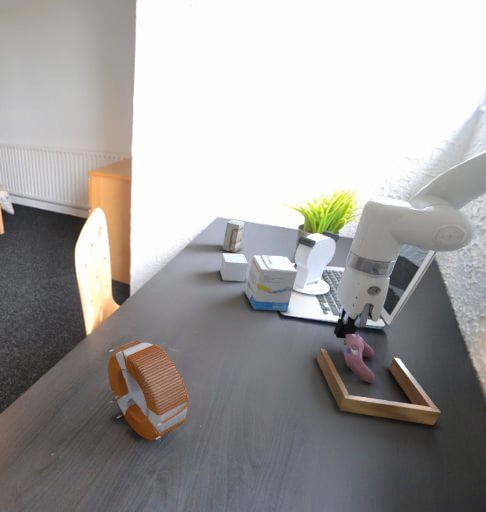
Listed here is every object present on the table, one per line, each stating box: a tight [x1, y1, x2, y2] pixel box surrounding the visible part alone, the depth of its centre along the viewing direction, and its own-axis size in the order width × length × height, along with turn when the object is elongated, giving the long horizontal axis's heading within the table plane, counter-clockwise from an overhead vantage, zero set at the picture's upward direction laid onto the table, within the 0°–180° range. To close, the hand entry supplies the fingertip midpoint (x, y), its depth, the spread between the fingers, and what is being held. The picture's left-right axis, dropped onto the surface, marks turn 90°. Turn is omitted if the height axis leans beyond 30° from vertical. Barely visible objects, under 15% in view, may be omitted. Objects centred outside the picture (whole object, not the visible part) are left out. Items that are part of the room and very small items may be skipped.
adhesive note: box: [219, 252, 249, 282], centre depth 109 cm, size 6×6×6 cm
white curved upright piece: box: [292, 229, 340, 296], centre depth 101 cm, size 12×11×15 cm
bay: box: [316, 348, 442, 426], centre depth 69 cm, size 14×14×3 cm
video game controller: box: [342, 333, 376, 384], centre depth 74 cm, size 10×5×7 cm, turn 146°
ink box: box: [245, 254, 297, 312], centre depth 94 cm, size 9×8×12 cm
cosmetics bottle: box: [222, 218, 246, 254], centre depth 125 cm, size 5×4×10 cm
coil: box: [107, 340, 190, 441], centre depth 61 cm, size 7×15×15 cm, turn 29°
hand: (342, 336), depth 80 cm, fingers closed
